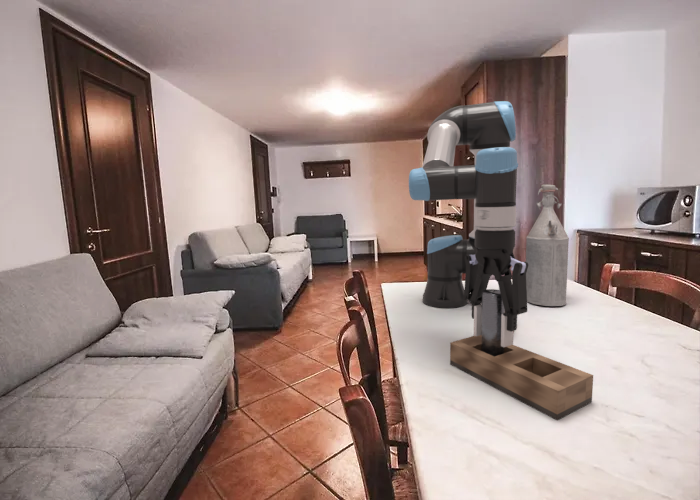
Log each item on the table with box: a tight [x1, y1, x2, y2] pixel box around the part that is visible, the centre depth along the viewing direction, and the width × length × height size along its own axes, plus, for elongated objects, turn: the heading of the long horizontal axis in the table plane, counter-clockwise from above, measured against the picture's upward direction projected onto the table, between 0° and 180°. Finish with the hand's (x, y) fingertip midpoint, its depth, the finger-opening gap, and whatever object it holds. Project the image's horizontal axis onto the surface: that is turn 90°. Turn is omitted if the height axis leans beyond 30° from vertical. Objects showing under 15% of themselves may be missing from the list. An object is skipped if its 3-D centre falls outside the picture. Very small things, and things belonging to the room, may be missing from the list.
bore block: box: [449, 335, 594, 421], centre depth 71 cm, size 24×10×5 cm, turn 29°
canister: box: [525, 184, 570, 307], centre depth 121 cm, size 13×17×40 cm
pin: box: [481, 288, 505, 357], centre depth 74 cm, size 4×4×16 cm
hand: (492, 339), depth 74 cm, fingers open, 6 cm apart
